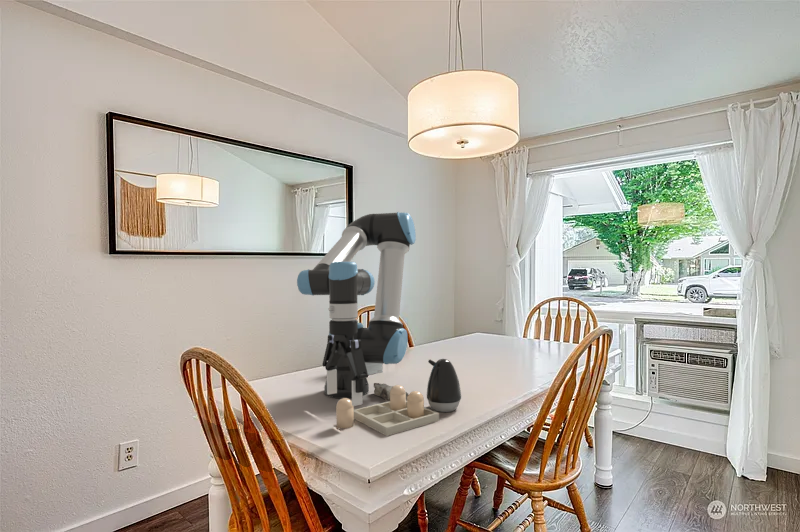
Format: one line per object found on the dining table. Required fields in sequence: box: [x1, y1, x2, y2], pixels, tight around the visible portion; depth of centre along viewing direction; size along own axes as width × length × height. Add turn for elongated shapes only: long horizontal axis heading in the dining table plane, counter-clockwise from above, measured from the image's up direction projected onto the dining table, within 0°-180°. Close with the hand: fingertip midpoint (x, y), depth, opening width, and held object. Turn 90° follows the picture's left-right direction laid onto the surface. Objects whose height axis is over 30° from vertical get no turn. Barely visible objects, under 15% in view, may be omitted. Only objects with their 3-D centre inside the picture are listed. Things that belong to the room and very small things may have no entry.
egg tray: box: [354, 401, 440, 437], centre depth 124 cm, size 17×17×2 cm
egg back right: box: [407, 390, 425, 419], centre depth 123 cm, size 5×5×8 cm
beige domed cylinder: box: [390, 384, 407, 411], centre depth 129 cm, size 5×5×8 cm
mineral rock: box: [373, 382, 409, 402], centre depth 145 cm, size 15×8×4 cm, turn 31°
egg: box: [335, 398, 355, 431], centre depth 119 cm, size 5×5×8 cm
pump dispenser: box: [426, 358, 462, 413], centre depth 132 cm, size 10×10×15 cm
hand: (344, 399), depth 119 cm, fingers open, 13 cm apart
